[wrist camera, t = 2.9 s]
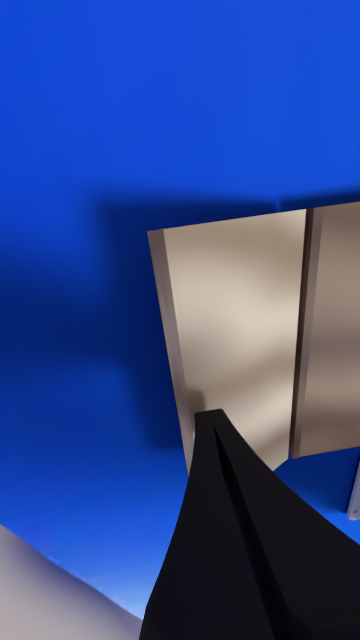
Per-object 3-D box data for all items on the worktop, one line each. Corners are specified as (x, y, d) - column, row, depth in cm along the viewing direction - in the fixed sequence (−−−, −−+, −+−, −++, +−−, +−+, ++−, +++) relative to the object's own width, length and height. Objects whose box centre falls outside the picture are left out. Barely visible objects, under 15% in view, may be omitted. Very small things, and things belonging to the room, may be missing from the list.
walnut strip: (350, 430, 20) (365, 446, 18) (282, 442, 20) (292, 459, 18) (399, 196, 13) (429, 192, 12) (296, 210, 13) (314, 208, 11)
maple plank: (272, 445, 20) (287, 458, 18) (193, 504, 16) (205, 526, 15) (280, 212, 13) (306, 208, 12) (147, 231, 9) (163, 229, 8)
